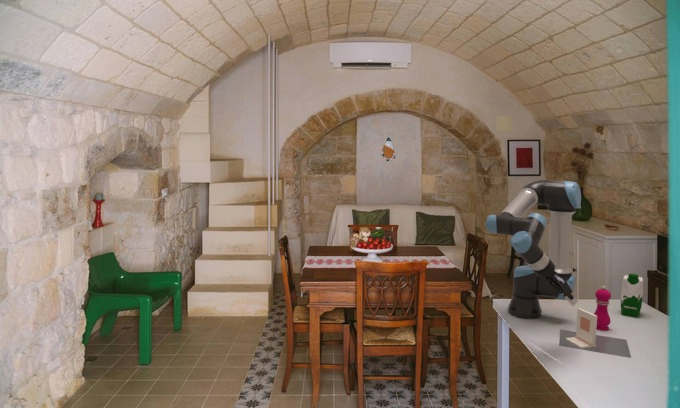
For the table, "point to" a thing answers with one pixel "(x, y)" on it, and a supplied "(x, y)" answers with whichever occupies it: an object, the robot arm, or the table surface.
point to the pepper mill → (602, 309)
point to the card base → (579, 343)
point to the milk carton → (631, 295)
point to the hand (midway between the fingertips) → (574, 303)
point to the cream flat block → (586, 326)
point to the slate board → (599, 344)
